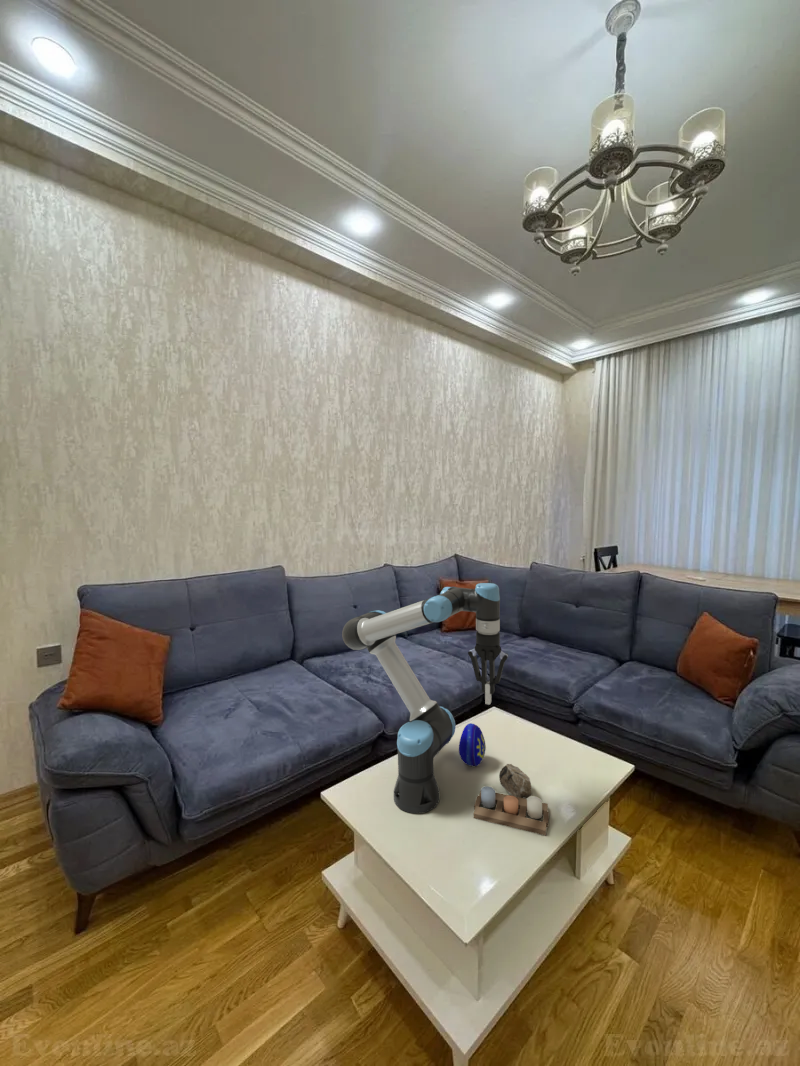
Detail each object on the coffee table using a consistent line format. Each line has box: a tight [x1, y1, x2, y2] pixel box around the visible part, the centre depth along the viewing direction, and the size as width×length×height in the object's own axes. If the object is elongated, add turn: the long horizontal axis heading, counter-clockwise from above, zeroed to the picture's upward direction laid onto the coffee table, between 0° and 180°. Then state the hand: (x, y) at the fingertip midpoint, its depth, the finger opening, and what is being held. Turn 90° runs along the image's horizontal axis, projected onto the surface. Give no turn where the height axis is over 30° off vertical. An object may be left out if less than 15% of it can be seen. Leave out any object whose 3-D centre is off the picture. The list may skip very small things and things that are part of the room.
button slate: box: [480, 786, 496, 809], centre depth 135 cm, size 4×4×4 cm
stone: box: [499, 763, 533, 799], centre depth 143 cm, size 7×12×7 cm, turn 35°
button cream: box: [526, 795, 543, 820], centre depth 130 cm, size 4×4×4 cm
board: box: [473, 790, 550, 836], centre depth 133 cm, size 22×12×2 cm, turn 68°
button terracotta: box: [503, 794, 519, 816], centre depth 133 cm, size 4×4×4 cm
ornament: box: [458, 722, 487, 767], centre depth 159 cm, size 11×9×15 cm
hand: (488, 702), depth 140 cm, fingers closed
